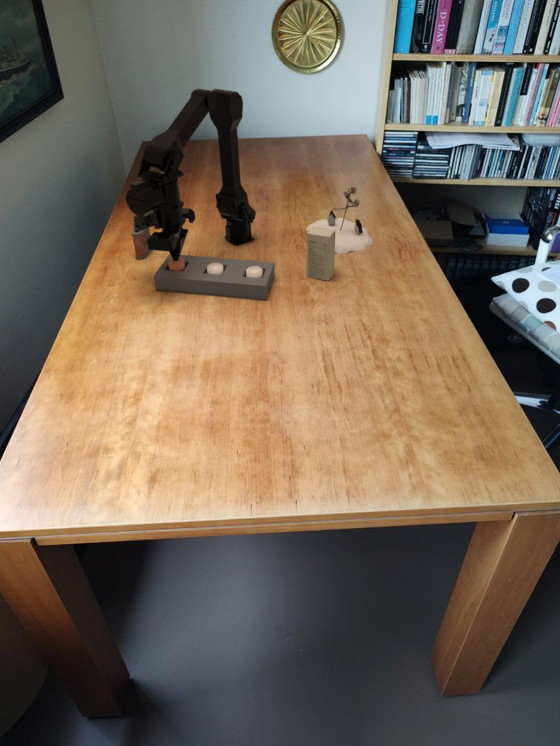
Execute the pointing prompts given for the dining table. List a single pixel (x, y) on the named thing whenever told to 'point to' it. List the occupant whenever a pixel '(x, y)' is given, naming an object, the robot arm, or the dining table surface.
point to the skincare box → (320, 253)
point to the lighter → (141, 242)
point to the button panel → (216, 278)
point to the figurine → (345, 229)
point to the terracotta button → (176, 264)
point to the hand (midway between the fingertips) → (176, 260)
